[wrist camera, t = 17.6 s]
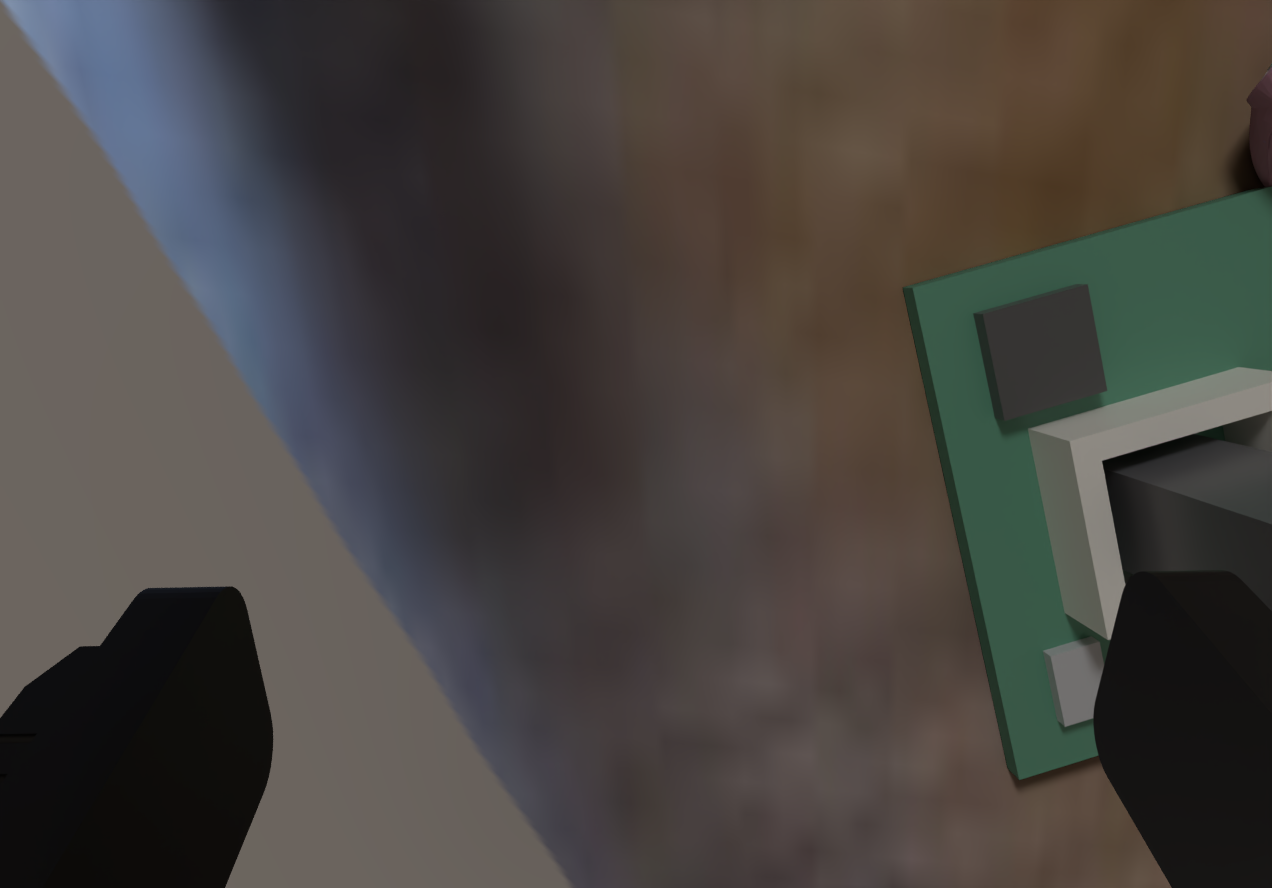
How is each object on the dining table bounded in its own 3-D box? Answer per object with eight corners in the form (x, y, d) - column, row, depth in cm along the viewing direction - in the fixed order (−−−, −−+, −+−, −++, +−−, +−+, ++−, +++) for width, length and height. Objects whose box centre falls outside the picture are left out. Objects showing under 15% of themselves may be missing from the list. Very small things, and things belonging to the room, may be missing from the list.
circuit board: (902, 287, 37) (945, 288, 34) (1253, 188, 38) (1335, 178, 34) (1007, 768, 41) (1057, 819, 37) (1326, 669, 42) (1408, 709, 38)
